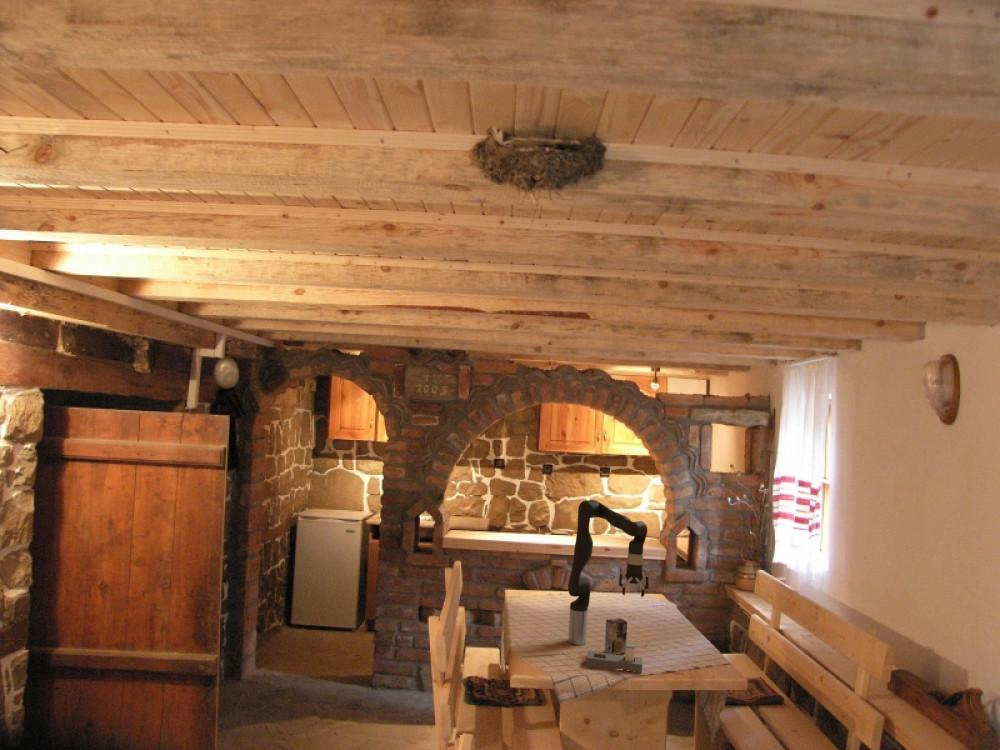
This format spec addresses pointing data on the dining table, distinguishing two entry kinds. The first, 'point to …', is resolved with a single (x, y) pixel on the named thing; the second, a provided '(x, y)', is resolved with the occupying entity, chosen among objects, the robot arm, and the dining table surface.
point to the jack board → (613, 662)
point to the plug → (629, 653)
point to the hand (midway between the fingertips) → (632, 596)
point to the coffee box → (615, 636)
